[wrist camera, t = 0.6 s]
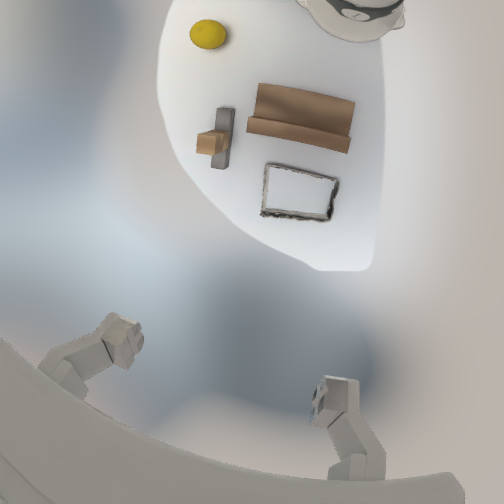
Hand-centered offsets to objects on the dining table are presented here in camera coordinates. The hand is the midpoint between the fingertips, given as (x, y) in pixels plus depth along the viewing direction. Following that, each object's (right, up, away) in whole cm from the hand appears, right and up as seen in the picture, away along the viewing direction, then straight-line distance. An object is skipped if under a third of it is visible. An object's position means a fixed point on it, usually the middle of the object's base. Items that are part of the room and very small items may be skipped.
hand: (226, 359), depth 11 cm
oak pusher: (-4, +25, +35) cm, 43 cm away
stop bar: (+10, +27, +30) cm, 42 cm away
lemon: (-5, +42, +25) cm, 49 cm away
